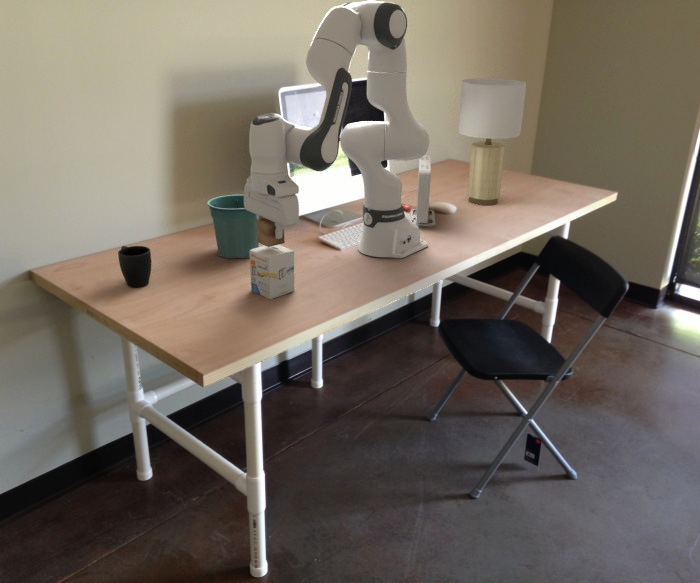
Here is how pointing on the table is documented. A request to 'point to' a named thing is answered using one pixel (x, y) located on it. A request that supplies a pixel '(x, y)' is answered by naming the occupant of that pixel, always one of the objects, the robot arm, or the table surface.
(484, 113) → the lamp
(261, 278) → the ink box
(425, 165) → the network device
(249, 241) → the flower pot
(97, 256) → the table surface
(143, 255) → the mug
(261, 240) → the walnut block
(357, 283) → the table surface
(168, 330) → the table surface
